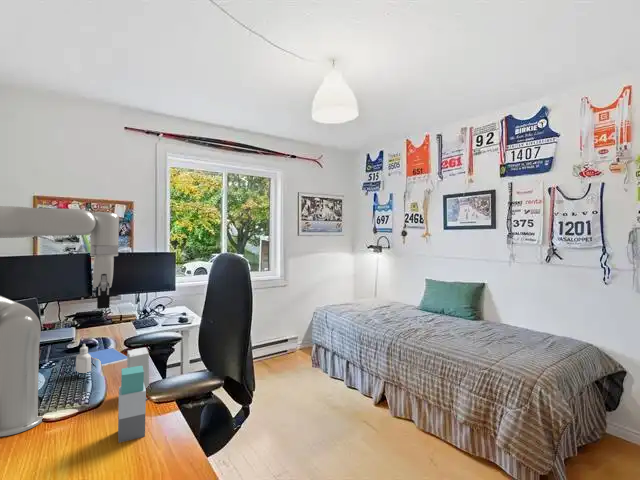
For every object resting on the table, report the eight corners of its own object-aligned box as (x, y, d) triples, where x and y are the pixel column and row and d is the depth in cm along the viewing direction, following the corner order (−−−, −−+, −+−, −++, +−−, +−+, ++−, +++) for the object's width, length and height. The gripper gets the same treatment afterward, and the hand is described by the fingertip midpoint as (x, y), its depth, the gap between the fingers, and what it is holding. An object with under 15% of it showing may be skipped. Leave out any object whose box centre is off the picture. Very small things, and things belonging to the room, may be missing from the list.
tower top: (119, 419, 88) (119, 395, 88) (118, 409, 93) (118, 387, 93) (145, 413, 91) (145, 390, 91) (143, 404, 97) (143, 382, 97)
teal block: (121, 394, 89) (121, 375, 89) (121, 387, 93) (121, 368, 93) (143, 390, 92) (143, 371, 91) (142, 383, 96) (142, 365, 96)
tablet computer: (130, 360, 147) (130, 357, 147) (96, 369, 137) (96, 365, 137) (112, 350, 159) (113, 347, 159) (80, 357, 149) (80, 354, 149)
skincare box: (149, 399, 112) (150, 353, 112) (128, 404, 108) (129, 356, 108) (146, 389, 119) (147, 346, 119) (125, 393, 115) (126, 349, 115)
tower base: (118, 442, 88) (119, 419, 88) (118, 431, 93) (118, 409, 93) (144, 436, 91) (145, 413, 91) (142, 425, 97) (143, 404, 97)
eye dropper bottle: (77, 380, 125) (77, 347, 125) (75, 375, 129) (76, 343, 129) (91, 377, 128) (92, 344, 127) (89, 372, 132) (90, 341, 132)
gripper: (91, 250, 115) (90, 301, 115) (89, 252, 100) (87, 311, 101) (117, 250, 119) (116, 300, 119) (119, 252, 104) (117, 309, 104)
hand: (103, 305), depth 110 cm, fingers open, 9 cm apart
